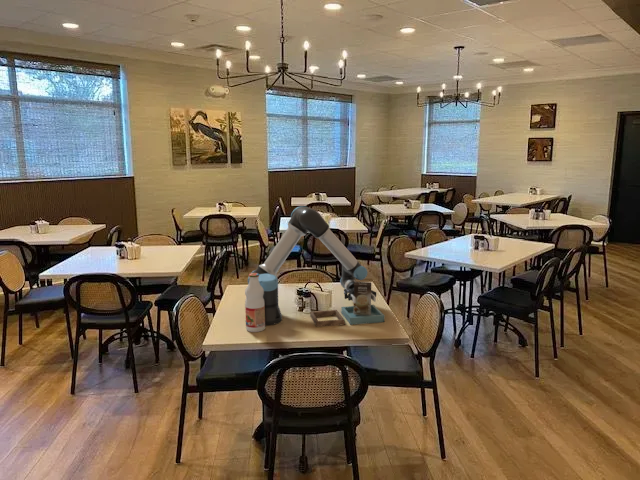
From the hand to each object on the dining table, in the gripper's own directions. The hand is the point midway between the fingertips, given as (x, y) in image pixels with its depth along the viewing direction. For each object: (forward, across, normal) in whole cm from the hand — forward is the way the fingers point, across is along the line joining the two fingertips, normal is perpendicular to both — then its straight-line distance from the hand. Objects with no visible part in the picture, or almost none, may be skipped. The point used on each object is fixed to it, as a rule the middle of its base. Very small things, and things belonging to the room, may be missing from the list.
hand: (364, 299), depth 255 cm
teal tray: (-4, 0, -11) cm, 12 cm away
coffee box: (-4, 0, -9) cm, 10 cm away
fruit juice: (0, +56, -11) cm, 57 cm away
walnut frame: (-4, +19, -11) cm, 22 cm away
